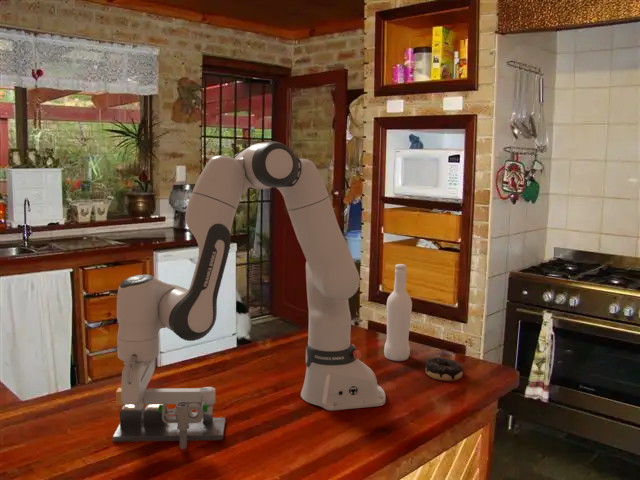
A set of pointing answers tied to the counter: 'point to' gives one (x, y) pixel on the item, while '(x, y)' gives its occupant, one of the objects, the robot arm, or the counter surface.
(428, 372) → the donut
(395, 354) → the bottle
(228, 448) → the counter surface
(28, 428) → the counter surface
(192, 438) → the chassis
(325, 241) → the robot arm
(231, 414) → the counter surface
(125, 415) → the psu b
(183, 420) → the mechanical component
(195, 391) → the lever
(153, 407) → the block
